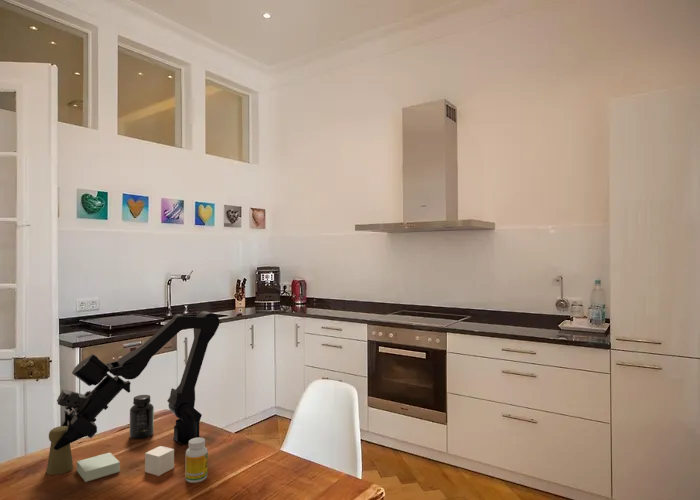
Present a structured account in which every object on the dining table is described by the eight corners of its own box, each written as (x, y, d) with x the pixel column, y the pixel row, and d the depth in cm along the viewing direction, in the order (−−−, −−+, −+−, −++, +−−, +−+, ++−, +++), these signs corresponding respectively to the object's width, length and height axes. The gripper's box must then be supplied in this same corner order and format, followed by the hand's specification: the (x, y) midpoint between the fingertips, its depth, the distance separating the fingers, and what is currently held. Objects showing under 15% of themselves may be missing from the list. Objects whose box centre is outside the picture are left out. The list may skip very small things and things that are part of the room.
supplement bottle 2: (184, 475, 118) (184, 438, 118) (205, 471, 120) (206, 434, 120) (186, 485, 113) (187, 446, 113) (209, 480, 116) (209, 442, 116)
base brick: (109, 461, 126) (110, 452, 126) (119, 471, 120) (119, 461, 120) (76, 470, 120) (76, 461, 120) (85, 481, 114) (85, 471, 114)
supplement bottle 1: (158, 432, 147) (158, 394, 147) (143, 440, 140) (144, 401, 140) (139, 430, 148) (139, 392, 148) (124, 438, 142) (124, 399, 142)
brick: (160, 464, 125) (160, 445, 125) (173, 468, 122) (174, 449, 122) (144, 472, 120) (145, 452, 120) (158, 476, 118) (158, 456, 118)
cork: (60, 476, 117) (60, 432, 118) (40, 473, 119) (40, 430, 119) (78, 465, 123) (79, 424, 123) (59, 463, 125) (60, 422, 125)
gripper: (74, 371, 131) (26, 418, 124) (82, 386, 116) (29, 440, 109) (104, 393, 136) (60, 440, 129) (116, 411, 121) (67, 464, 114)
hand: (53, 445), depth 120 cm, fingers closed on cork, 5 cm apart
